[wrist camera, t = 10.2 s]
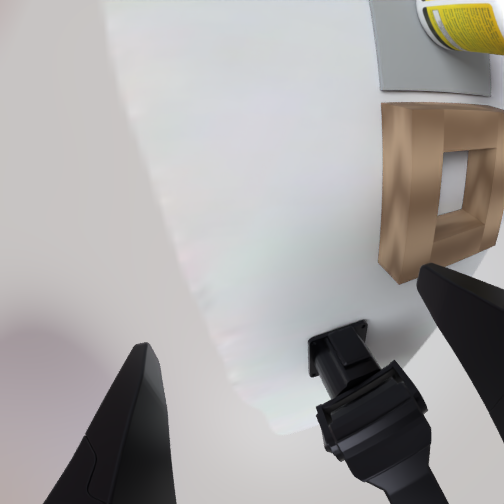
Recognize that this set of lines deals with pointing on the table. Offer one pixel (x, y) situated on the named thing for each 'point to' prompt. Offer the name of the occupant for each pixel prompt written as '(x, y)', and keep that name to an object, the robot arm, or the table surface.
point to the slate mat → (422, 55)
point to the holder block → (438, 184)
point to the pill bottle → (464, 24)
